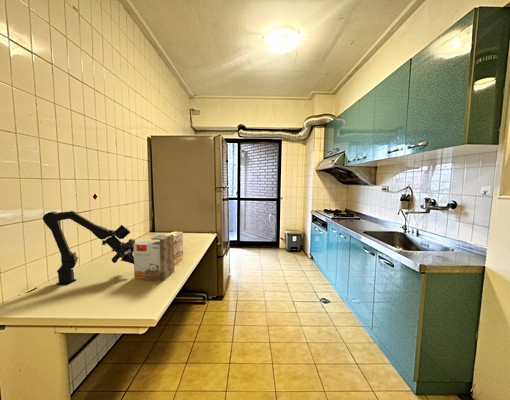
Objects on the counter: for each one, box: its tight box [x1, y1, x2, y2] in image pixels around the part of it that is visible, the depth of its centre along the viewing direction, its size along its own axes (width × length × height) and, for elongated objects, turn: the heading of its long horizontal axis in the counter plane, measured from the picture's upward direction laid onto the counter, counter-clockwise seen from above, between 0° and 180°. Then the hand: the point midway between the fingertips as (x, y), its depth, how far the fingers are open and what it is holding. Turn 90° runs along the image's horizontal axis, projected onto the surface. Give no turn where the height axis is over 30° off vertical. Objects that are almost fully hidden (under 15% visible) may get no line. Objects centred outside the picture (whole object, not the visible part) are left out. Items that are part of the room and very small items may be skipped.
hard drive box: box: [133, 240, 161, 280], centre depth 139 cm, size 16×8×20 cm, turn 89°
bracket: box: [144, 234, 175, 282], centre depth 140 cm, size 14×11×23 cm
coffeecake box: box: [166, 231, 184, 265], centre depth 165 cm, size 15×7×20 cm, turn 168°
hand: (135, 263), depth 142 cm, fingers closed
